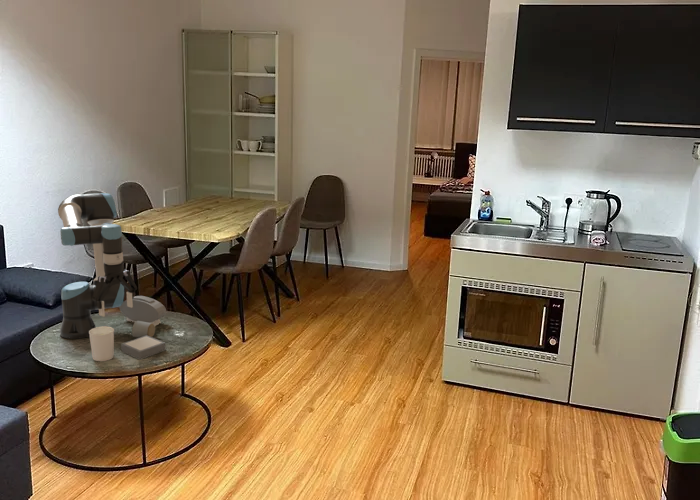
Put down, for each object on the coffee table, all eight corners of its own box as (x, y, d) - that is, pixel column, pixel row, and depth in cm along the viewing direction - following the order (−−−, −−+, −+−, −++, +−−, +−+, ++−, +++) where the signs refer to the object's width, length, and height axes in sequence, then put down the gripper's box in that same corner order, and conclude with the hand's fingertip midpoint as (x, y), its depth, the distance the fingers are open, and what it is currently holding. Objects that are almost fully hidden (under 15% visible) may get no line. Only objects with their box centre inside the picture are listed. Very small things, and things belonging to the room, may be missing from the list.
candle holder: (97, 351, 267) (96, 325, 264) (119, 353, 266) (118, 327, 263) (86, 361, 257) (84, 334, 254) (108, 363, 256) (107, 335, 253)
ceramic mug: (149, 341, 279) (148, 325, 278) (131, 339, 280) (131, 323, 279) (159, 333, 290) (159, 317, 288) (142, 331, 291) (142, 316, 289)
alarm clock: (167, 323, 301) (166, 298, 298) (159, 327, 295) (158, 302, 292) (128, 316, 309) (127, 291, 306) (120, 320, 303) (118, 295, 300)
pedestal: (121, 351, 268) (121, 343, 267) (147, 342, 278) (146, 335, 277) (140, 359, 260) (139, 351, 260) (165, 350, 271) (165, 342, 270)
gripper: (92, 270, 241) (95, 321, 246) (144, 257, 261) (146, 305, 267) (80, 267, 245) (83, 317, 250) (132, 254, 265) (135, 301, 271)
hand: (116, 311), depth 258 cm, fingers open, 13 cm apart
